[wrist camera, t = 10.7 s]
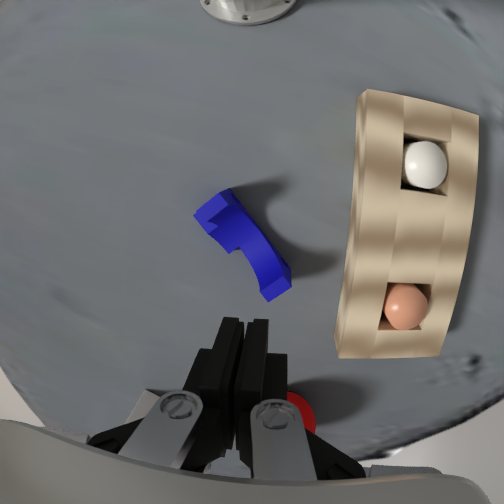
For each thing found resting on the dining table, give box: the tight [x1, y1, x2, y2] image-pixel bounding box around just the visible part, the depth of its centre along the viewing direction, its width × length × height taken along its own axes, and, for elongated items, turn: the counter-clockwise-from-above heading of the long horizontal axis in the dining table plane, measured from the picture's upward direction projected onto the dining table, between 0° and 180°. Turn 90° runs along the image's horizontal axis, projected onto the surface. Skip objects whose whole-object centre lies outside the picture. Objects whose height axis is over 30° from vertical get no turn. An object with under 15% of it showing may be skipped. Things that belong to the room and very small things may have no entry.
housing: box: [334, 89, 479, 358], centre depth 32 cm, size 30×14×5 cm, turn 178°
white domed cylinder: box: [401, 141, 447, 189], centre depth 30 cm, size 5×5×5 cm
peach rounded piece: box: [382, 282, 428, 330], centre depth 34 cm, size 5×5×5 cm
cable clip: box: [193, 188, 292, 302], centre depth 34 cm, size 12×4×6 cm, turn 37°
